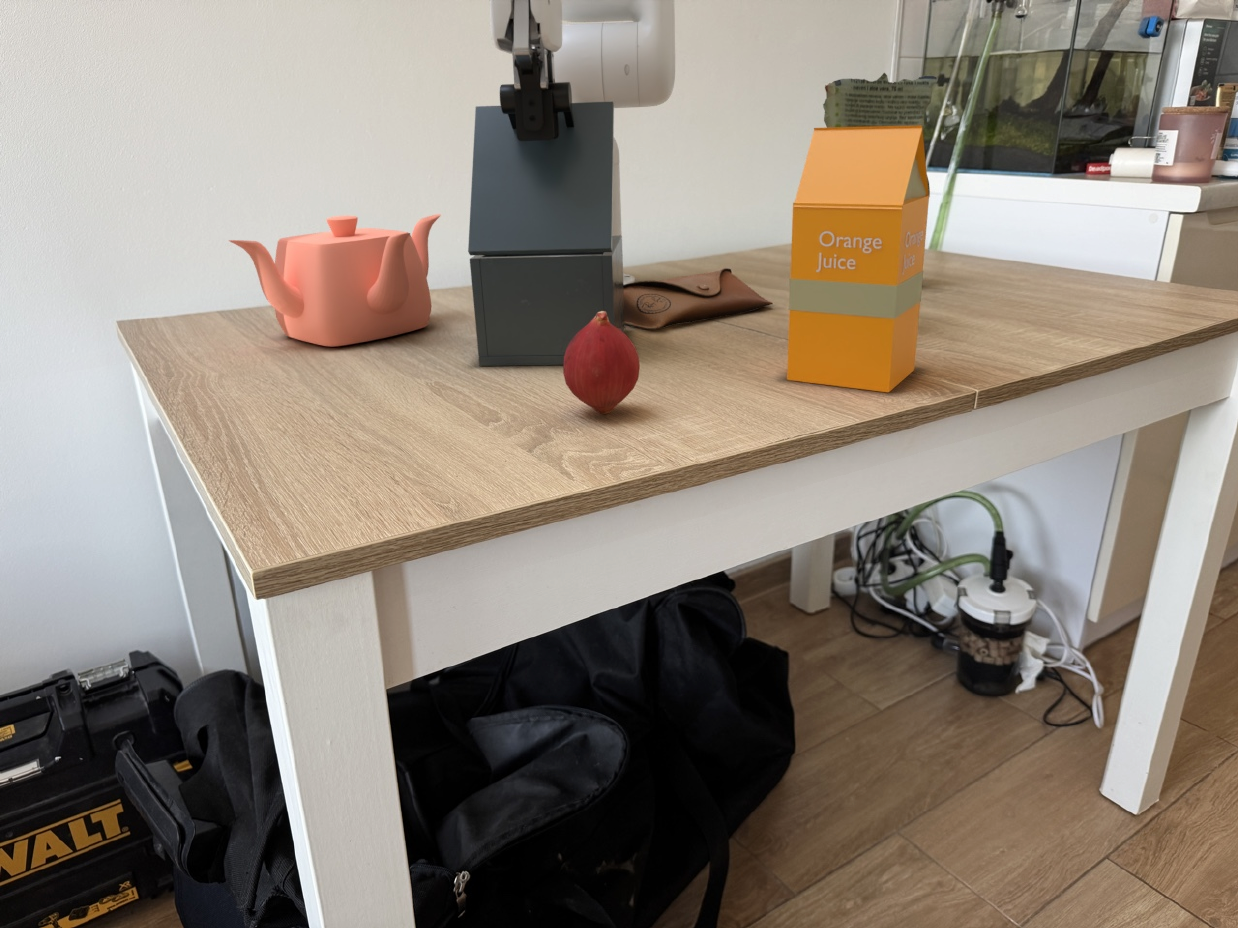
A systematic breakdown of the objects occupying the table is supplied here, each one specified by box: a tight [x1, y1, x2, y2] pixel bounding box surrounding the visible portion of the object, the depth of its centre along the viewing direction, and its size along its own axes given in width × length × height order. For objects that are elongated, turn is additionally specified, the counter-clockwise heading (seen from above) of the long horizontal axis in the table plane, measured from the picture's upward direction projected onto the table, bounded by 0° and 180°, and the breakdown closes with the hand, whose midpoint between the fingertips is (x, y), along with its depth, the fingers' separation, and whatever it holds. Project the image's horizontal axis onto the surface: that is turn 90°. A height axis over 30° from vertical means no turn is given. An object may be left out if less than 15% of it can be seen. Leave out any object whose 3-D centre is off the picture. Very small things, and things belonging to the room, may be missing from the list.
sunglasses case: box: [623, 267, 774, 330], centre depth 103 cm, size 18×7×7 cm
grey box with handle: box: [467, 82, 615, 256], centre depth 80 cm, size 15×13×6 cm
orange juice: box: [786, 125, 930, 393], centre depth 75 cm, size 8×9×20 cm
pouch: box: [822, 72, 939, 198], centre depth 111 cm, size 11×12×25 cm
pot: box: [228, 213, 442, 347], centre depth 98 cm, size 18×17×12 cm
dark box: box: [469, 235, 626, 367], centre depth 89 cm, size 14×13×10 cm
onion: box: [562, 311, 641, 415], centre depth 69 cm, size 6×6×8 cm
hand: (538, 138), depth 81 cm, fingers closed on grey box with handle, 2 cm apart
